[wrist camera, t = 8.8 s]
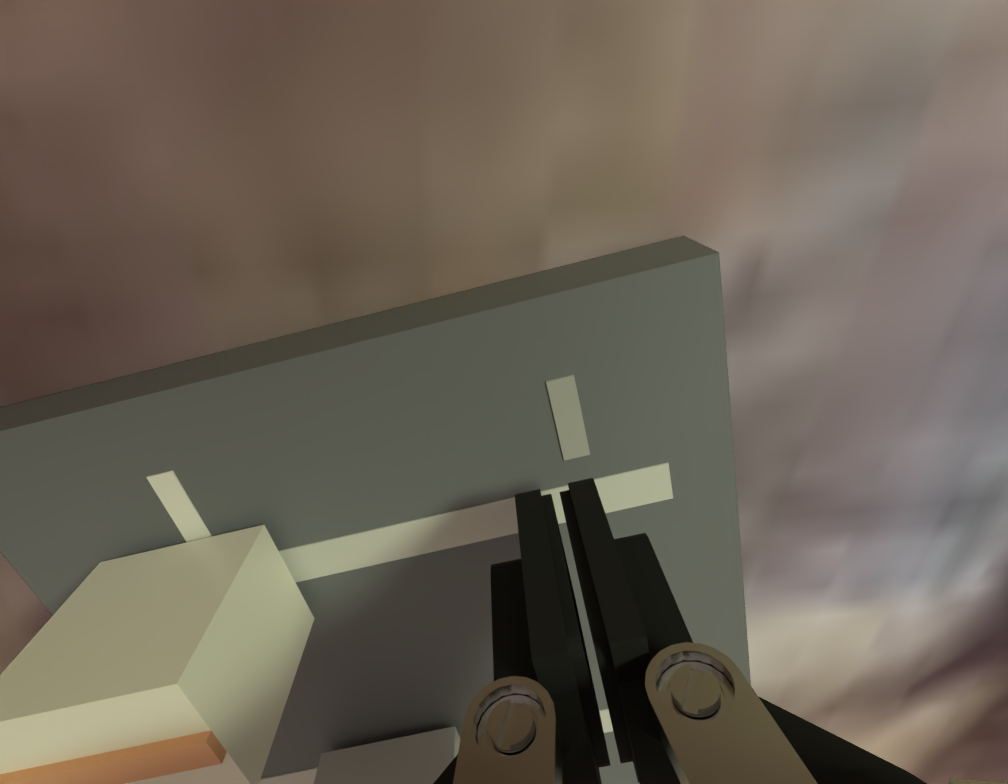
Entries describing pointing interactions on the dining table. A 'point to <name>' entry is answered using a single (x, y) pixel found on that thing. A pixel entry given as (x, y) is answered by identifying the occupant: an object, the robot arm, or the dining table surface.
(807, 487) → the dining table surface
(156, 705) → the fader
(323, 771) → the fader
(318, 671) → the console
